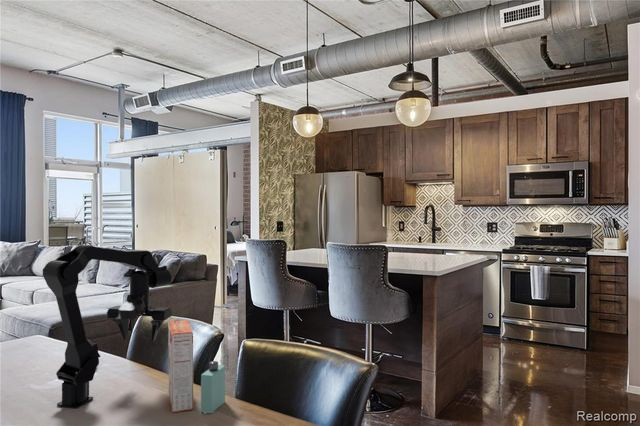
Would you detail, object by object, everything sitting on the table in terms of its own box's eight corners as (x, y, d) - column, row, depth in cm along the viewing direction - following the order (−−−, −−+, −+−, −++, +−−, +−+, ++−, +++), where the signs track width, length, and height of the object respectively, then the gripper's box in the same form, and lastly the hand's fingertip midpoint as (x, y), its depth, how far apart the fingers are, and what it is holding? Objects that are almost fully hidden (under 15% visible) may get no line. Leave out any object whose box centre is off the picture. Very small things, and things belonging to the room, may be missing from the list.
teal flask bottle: (211, 414, 122) (211, 368, 122) (201, 412, 122) (201, 367, 122) (225, 401, 129) (225, 358, 129) (215, 400, 130) (215, 357, 130)
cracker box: (167, 393, 135) (167, 320, 135) (189, 390, 137) (189, 319, 137) (169, 413, 122) (170, 333, 122) (193, 410, 124) (194, 331, 124)
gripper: (96, 294, 139) (95, 346, 139) (155, 296, 137) (155, 349, 137) (116, 287, 150) (116, 336, 150) (172, 289, 148) (172, 339, 148)
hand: (139, 340), depth 146 cm, fingers open, 9 cm apart
